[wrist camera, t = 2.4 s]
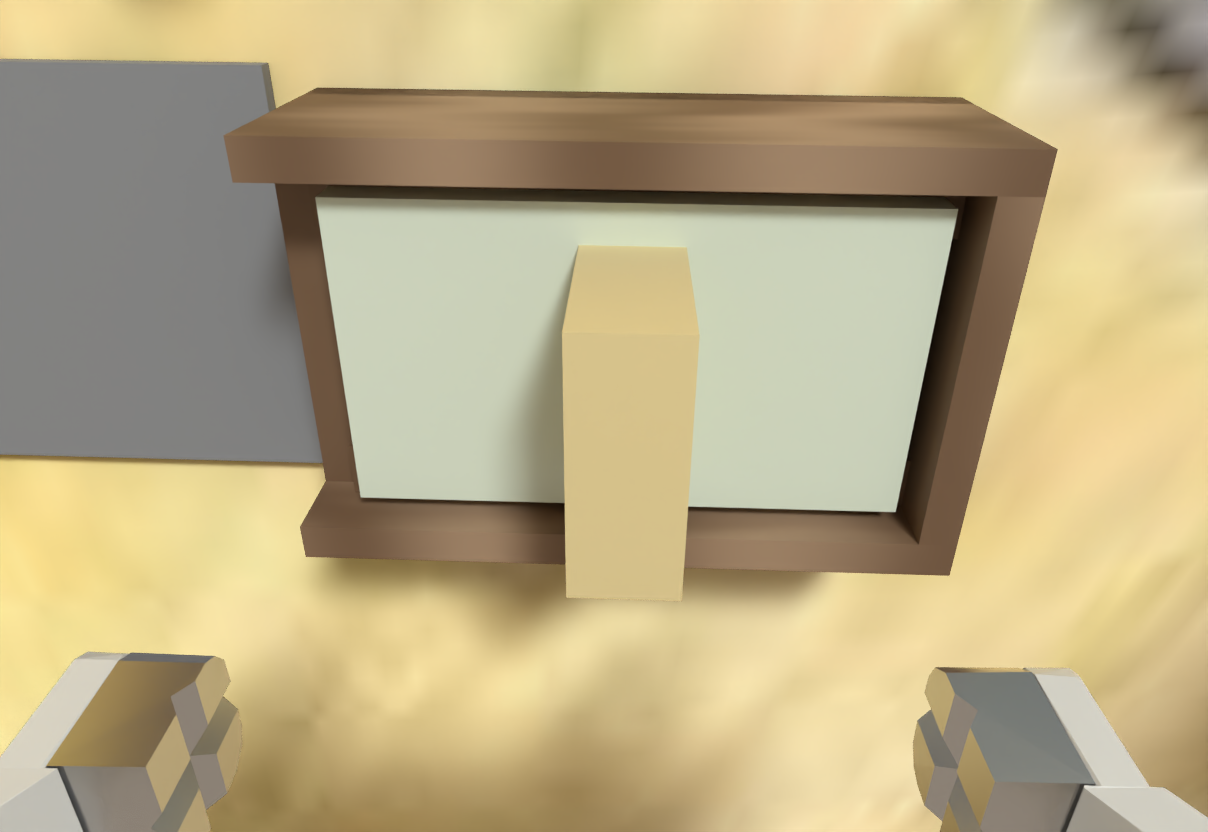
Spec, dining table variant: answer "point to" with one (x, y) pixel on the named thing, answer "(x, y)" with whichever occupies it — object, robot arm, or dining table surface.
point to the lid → (633, 355)
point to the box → (669, 164)
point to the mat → (143, 269)
